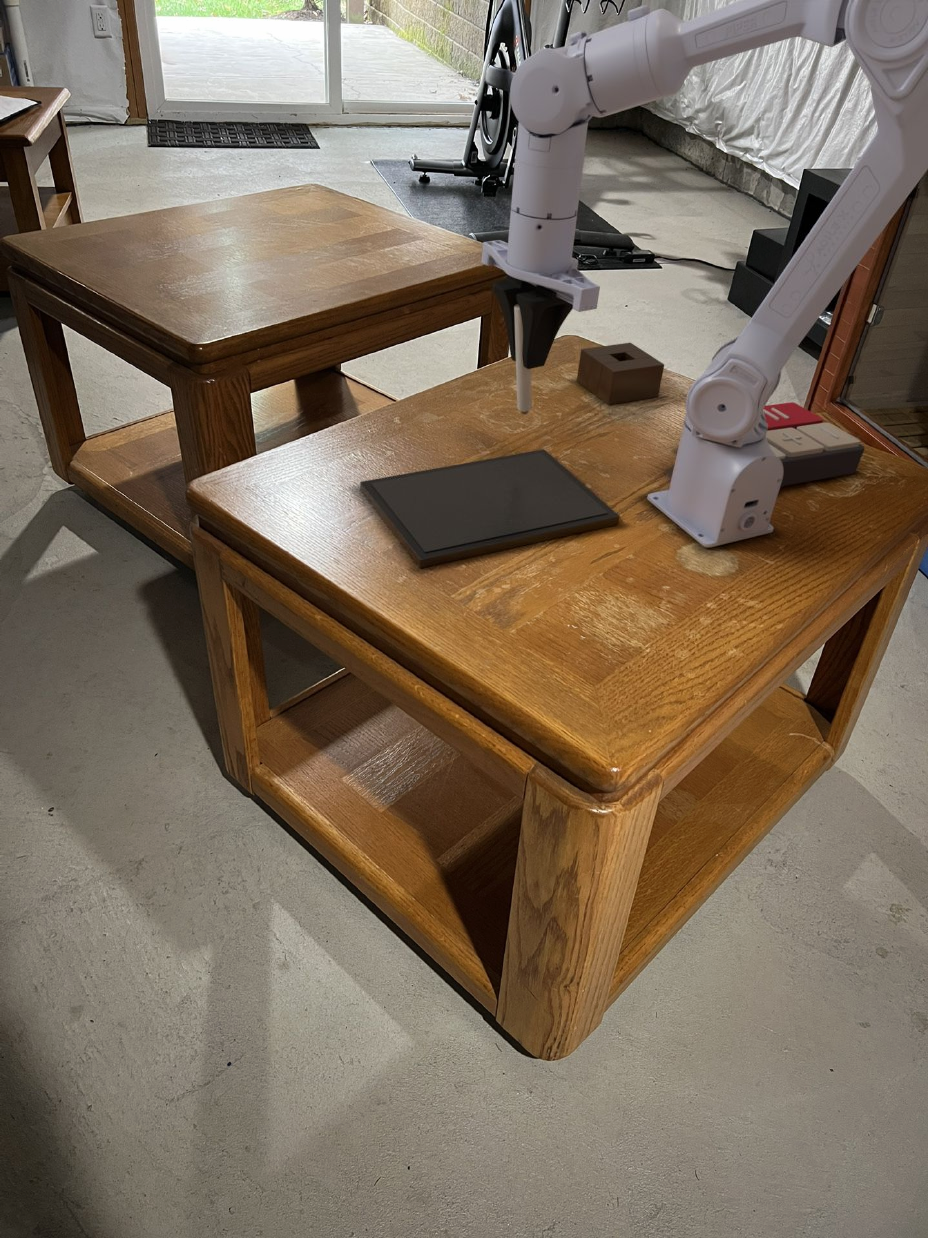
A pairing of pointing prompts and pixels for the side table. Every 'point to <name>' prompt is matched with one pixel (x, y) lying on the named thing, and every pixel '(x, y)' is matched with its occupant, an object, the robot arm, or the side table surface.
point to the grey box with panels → (809, 445)
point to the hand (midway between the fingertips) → (528, 362)
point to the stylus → (521, 368)
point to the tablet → (485, 506)
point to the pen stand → (620, 373)
